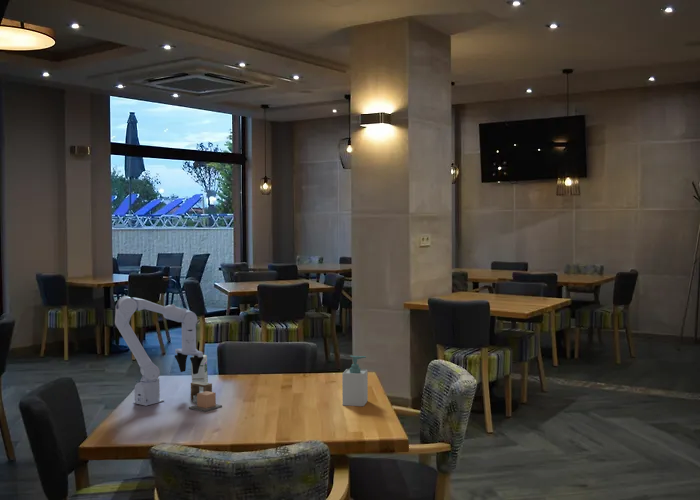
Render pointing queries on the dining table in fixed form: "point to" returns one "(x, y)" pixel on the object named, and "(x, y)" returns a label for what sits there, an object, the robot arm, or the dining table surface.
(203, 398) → the block
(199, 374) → the syrup box
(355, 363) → the soap bottle
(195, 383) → the bracket
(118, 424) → the dining table surface
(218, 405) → the coaster
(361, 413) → the dining table surface
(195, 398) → the silver square bar
